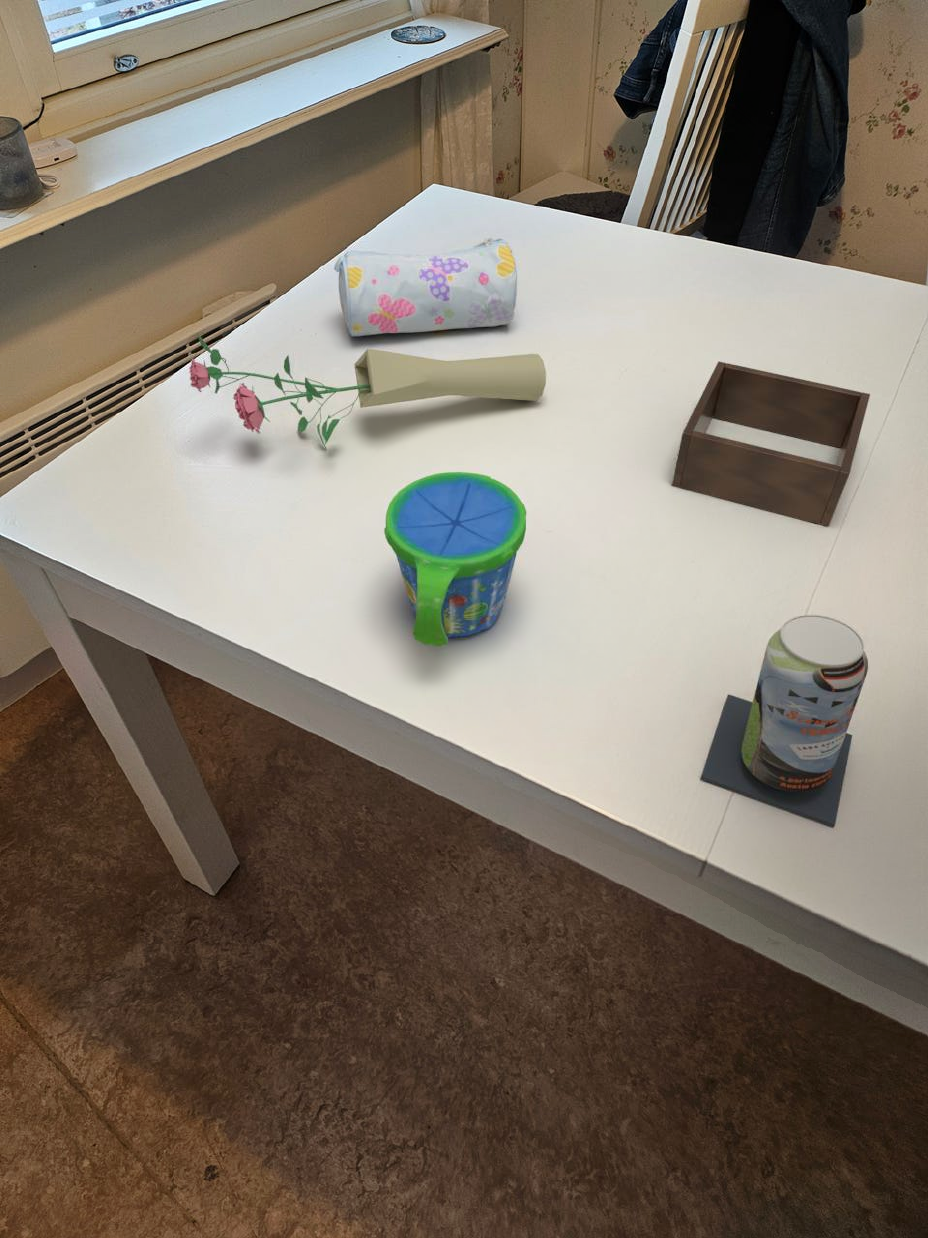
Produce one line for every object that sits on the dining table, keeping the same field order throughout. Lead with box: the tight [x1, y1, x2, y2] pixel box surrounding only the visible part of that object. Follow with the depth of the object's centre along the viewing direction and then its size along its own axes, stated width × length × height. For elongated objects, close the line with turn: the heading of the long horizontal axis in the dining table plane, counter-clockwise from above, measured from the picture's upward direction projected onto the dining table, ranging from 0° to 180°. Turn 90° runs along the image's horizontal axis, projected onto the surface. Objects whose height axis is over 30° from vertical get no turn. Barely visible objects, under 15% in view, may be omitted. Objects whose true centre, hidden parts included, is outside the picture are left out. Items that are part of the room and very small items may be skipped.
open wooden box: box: [671, 361, 871, 527], centre depth 83 cm, size 15×14×6 cm
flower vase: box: [188, 333, 547, 451], centre depth 87 cm, size 12×12×35 cm
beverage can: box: [741, 614, 869, 792], centre depth 57 cm, size 6×7×12 cm
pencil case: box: [333, 237, 518, 337], centre depth 101 cm, size 21×9×10 cm, turn 101°
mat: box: [700, 693, 853, 828], centre depth 62 cm, size 9×8×1 cm
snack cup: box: [383, 471, 527, 647], centre depth 68 cm, size 16×10×10 cm
